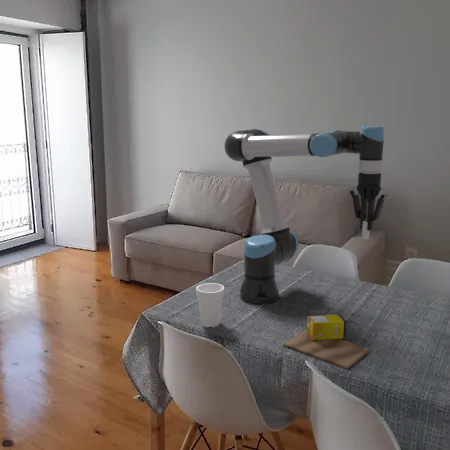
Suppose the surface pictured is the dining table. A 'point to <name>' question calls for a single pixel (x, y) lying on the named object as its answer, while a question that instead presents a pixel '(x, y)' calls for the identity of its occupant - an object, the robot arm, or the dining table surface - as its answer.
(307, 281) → the dining table surface
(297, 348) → the brown flat board
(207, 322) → the foam cup
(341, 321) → the supplement box
